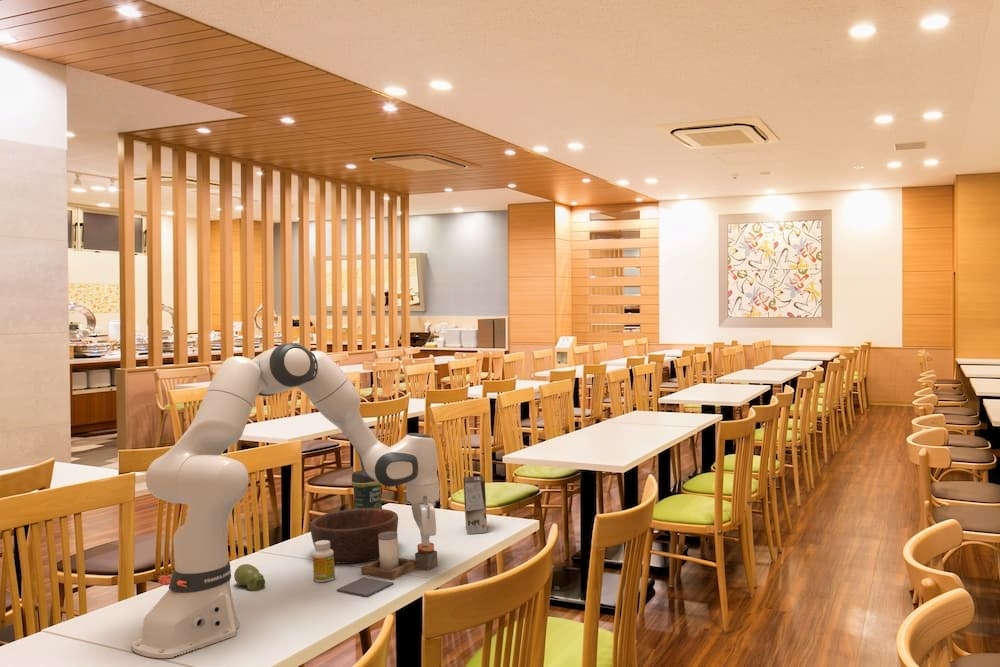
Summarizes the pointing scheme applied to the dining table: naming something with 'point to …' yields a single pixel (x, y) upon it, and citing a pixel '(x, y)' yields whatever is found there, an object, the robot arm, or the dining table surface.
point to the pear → (249, 577)
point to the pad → (365, 587)
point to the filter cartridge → (388, 550)
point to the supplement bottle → (323, 562)
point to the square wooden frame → (401, 566)
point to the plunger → (425, 548)
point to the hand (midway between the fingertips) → (425, 544)
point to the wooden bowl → (354, 532)
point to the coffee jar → (365, 491)
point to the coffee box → (475, 504)
